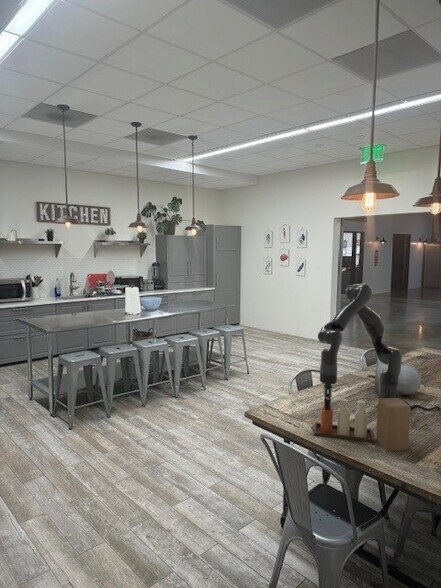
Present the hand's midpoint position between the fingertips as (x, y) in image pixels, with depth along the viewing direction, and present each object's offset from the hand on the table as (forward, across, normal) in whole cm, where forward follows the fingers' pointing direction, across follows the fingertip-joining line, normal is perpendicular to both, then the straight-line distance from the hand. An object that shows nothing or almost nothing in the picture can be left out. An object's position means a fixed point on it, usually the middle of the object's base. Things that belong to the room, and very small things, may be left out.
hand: (327, 406), depth 182 cm
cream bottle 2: (+12, 0, -15) cm, 19 cm away
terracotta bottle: (+12, 0, 0) cm, 12 cm away
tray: (+13, 0, -8) cm, 15 cm away
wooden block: (+13, -5, -28) cm, 31 cm away
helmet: (+13, +64, -38) cm, 75 cm away
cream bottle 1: (+12, 0, -8) cm, 14 cm away
